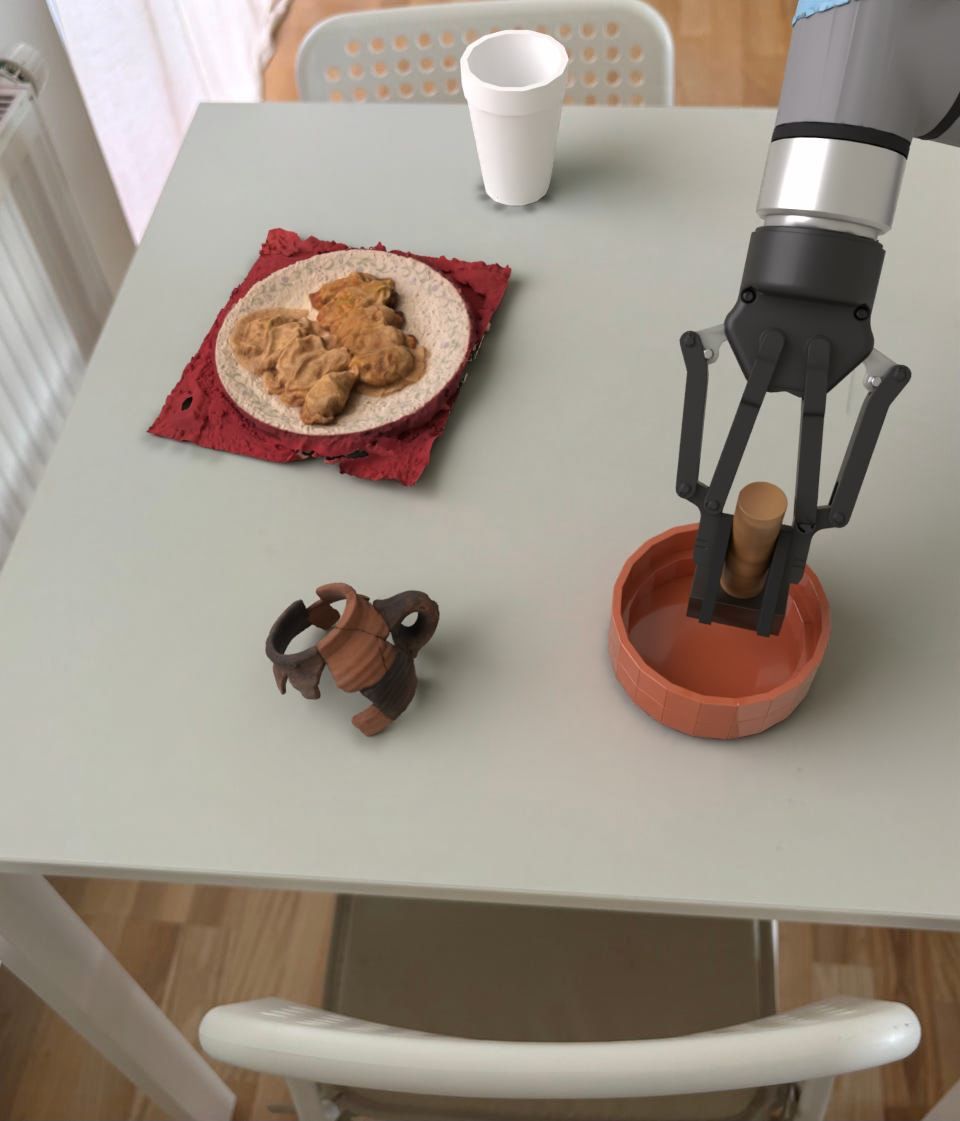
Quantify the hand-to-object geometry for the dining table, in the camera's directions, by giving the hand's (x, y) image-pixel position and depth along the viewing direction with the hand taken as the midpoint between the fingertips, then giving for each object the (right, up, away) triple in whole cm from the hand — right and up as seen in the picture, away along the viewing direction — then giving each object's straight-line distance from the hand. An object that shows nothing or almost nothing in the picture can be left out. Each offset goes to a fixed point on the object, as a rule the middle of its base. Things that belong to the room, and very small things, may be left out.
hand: (734, 624), depth 68 cm
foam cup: (-12, +40, +40) cm, 58 cm away
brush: (+1, +1, +5) cm, 5 cm away
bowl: (+1, -2, +10) cm, 10 cm away
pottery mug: (-24, -4, +10) cm, 26 cm away
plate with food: (-28, +21, +28) cm, 45 cm away
